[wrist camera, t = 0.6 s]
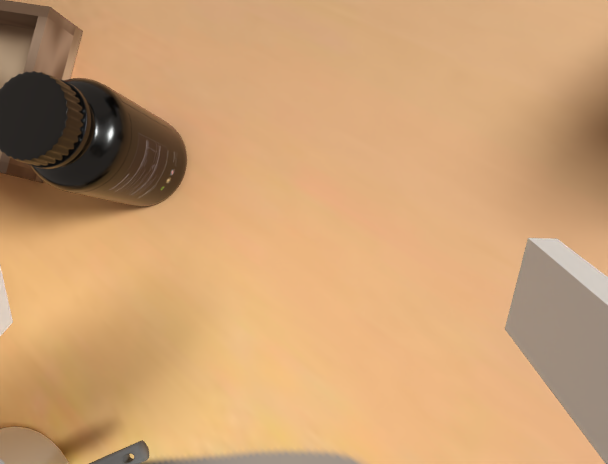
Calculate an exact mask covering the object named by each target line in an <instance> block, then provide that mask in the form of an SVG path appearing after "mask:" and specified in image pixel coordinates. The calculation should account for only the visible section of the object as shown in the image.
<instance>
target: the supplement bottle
mask: <svg viewBox="0 0 608 464" xmlns="http://www.w3.org/2000/svg"><path fill="white" fill-rule="evenodd" d="M0 150H1V152H3V153H5V154H6V155H7V156H8V157H10V158H13V159H15V160H16V161H20V162H23V163H27V164H29V165H30V166H31V168H32V169H33V170H34V172H35V173H36V174H37V175H38V176H39V177H40V178H41V179H42V180H43V181H44V182H46V183H47V184H49V185H51V186H52V187H55V188H57V189H60V190H63V191H67V192H71V193H76V194H81V195H85V196H90V197H95V198H99V199H104V200H109V201H113V202H118V203H123V204H128V205H133V206H151V205H155V204H158V203H160V202H162V201H164V200H165V199H167V198H168V197H169V196H171V195H172V194H173V193H174V192H175V191H176V189H177V188H178V187H179V185H180V183H181V181H182V179H183V177H184V174H185V170H186V165H187V154H186V149H185V145H184V142H183V140H182V138H181V136H180V135H179V133H178V132H177V131H176V130H175V129H174V128H173V127H172V126H171V125H170V124H168V123H167V122H166V121H164V120H162V119H161V118H159V117H158V116H156V115H154V114H152V113H151V112H149V111H147V110H146V109H144V108H142V107H141V106H139V105H137V104H136V103H134V102H132V101H131V100H129V99H127V98H126V97H124V96H122V95H121V94H119V93H117V92H116V91H114V90H112V89H111V88H109V87H107V86H106V85H104V84H101V83H99V82H97V81H94V80H90V79H85V78H73V79H67V80H60V79H57V78H55V77H53V76H51V75H47V74H45V73H43V72H36V71H32V72H25V73H23V74H18V75H17V76H16V77H12V78H11V79H10V80H9V81H8V82H6V83H5V84H4V85H3V87H2V88H1V89H0Z"/></svg>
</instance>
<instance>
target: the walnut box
mask: <svg viewBox="0 0 608 464" xmlns="http://www.w3.org/2000/svg"><path fill="white" fill-rule="evenodd" d="M82 32H83V31H82V30H81V29H79V28H78V27H77V26H75V25H74V24H73V23H71V22H70V21H68V20H67V19H66V18H64V17H63V16H62V15H60V14H59V13H58V12H56V11H55V10H54V9H52V8H51V7H47V6H40V5H34V4H27V3H20V2H13V1H6V0H0V89H1V88H2V87H3V85H4V84H5V83H6V82H8V81H9V80H10V79H11V78H12V77H16V76H17V75H18V74H23V73H25V72H32V71H36V72H43V73H45V74H47V75H51V76H53V77H55V78H57V79H60V80H67V79H70V78H71V74H72V70H73V66H74V63H75V59H76V55H77V51H78V47H79V44H80V40H81V36H82ZM0 172H1V173H5V174H9V175H13V176H17V177H21V178H25V179H29V180H34V181H38V182H42V183H43V180H42V179H41V178H40V177H39V176H38V175H37V174H36V173H35V172H34V170H33V169H32V168H31V166H30V165H29V164H27V163H23V162H20V161H16V160H15V159H13V158H10V157H8V156H7V155H6V154H5V153H3V152H1V150H0Z"/></svg>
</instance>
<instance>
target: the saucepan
mask: <svg viewBox="0 0 608 464" xmlns="http://www.w3.org/2000/svg"><path fill="white" fill-rule="evenodd" d="M130 453H131V454H133V455H134V459H132V458H130V455H129V454H130ZM148 458H149V449H148V447H147V445H146V443H145V442H144V441H139V442H137V443H135V444H133V445H130V446H128V447H126V448H123V449H121V450H119V451H117V452H114V453H112V454H110V455H108V456H105V457H103V458H101V459H98V460H96V461H94V462H92V463H89V464H139V463H141V462H144V461H146V460H147V459H148ZM0 464H69V462H68V460H67V459H66V457H65V456H64V454H63V453H62V451H61V450H60V449H59V448H58V447H57V446H56V445H55V444H54V443H53V442H52V441H51V440H50V439H49V438H47V437H46V436H44V435H43V434H41V433H40V432H37V431H34V430H32V429H29V428H24V427H17V426H16V427H6V428H2V429H0Z"/></svg>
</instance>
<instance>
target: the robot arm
mask: <svg viewBox="0 0 608 464" xmlns="http://www.w3.org/2000/svg"><path fill="white" fill-rule="evenodd" d="M12 323H13V320H12V316H11V311H10V307H9V302H8V298H7V293H6V289H5V284H4V280H3V275H2V271H1V267H0V336H1V335H2V334H3V333H4V332H5V330H6V329H7V328H8V327H9V326H10V325H11V324H12ZM505 330H506V331H507V333H508V334H509V335H510V337H511V338H512V339H513V341H514V342H515V343H516V345H517V346H518V347H519V349H520V350H521V351H522V353H523V354H524V355H525V357H526V358H527V359H528V361H529V362H530V363H531V365H532V366H533V367H534V369H535V370H536V371H537V373H538V374H539V375H540V377H541V378H542V379H543V381H544V382H545V383H546V385H547V386H548V387H549V389H550V390H551V391H552V393H553V394H554V395H555V397H556V398H557V399H558V401H559V402H560V403H561V405H562V406H563V407H564V409H565V410H566V411H567V413H568V414H569V415H570V417H571V418H572V419H573V421H574V422H575V423H576V425H577V426H578V427H579V429H580V430H581V431H582V433H583V434H584V435H585V437H586V438H587V439H588V441H589V442H590V443H591V445H592V446H593V447H594V449H595V450H596V451H597V453H598V454H599V455H600V457H601V458H602V459H603V461H604V462H605V463H606V464H608V277H607V276H606V275H604V274H603V273H602V272H600V271H599V270H598V269H596V268H595V267H594V266H592V265H591V264H590V263H588V262H587V261H586V260H584V259H583V258H582V257H581V256H579V255H578V254H577V253H575V252H574V251H573V250H571V249H570V248H569V247H567V246H566V245H565V244H563V243H562V242H561V241H559V240H558V239H549V238H528V240H527V244H526V248H525V252H524V256H523V260H522V264H521V268H520V271H519V275H518V279H517V283H516V287H515V291H514V295H513V299H512V303H511V307H510V311H509V315H508V318H507V322H506V326H505Z"/></svg>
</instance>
